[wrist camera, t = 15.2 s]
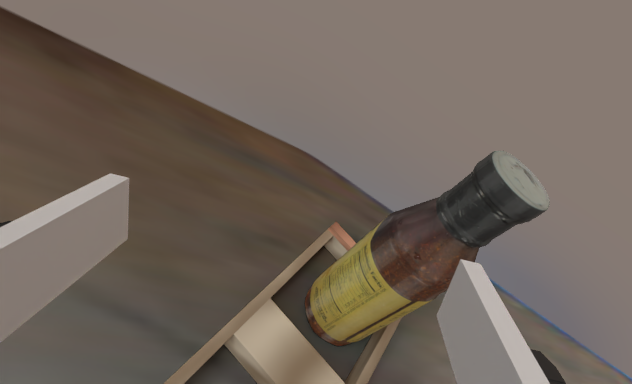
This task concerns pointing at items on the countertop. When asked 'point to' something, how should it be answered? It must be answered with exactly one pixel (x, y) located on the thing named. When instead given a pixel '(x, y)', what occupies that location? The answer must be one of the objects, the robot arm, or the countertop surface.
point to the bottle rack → (286, 335)
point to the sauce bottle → (421, 250)
